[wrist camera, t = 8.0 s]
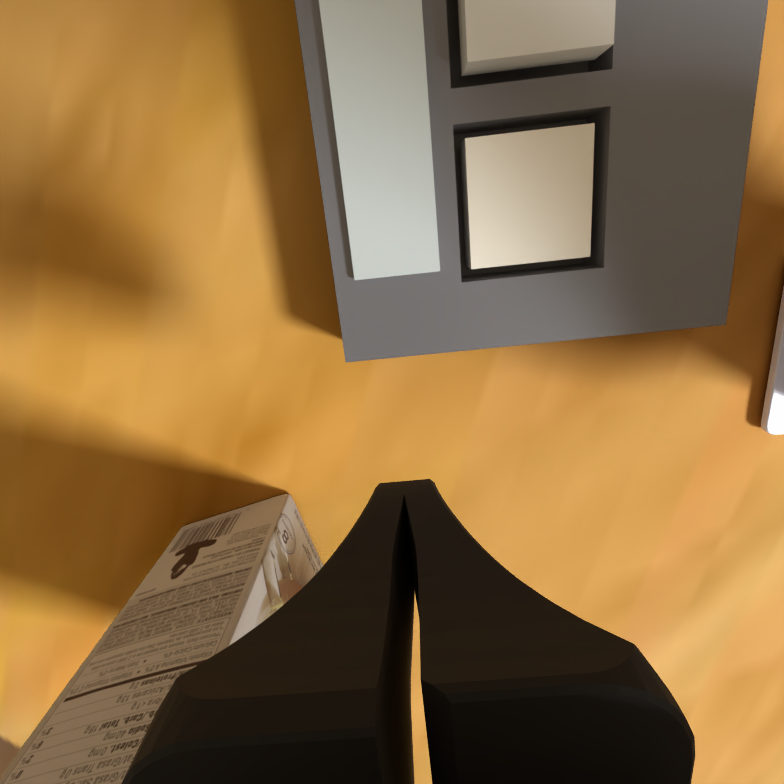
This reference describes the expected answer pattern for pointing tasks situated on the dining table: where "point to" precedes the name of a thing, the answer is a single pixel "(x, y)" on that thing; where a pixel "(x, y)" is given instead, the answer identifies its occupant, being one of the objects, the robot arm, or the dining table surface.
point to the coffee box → (168, 638)
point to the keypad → (516, 114)
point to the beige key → (532, 33)
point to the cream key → (527, 196)
